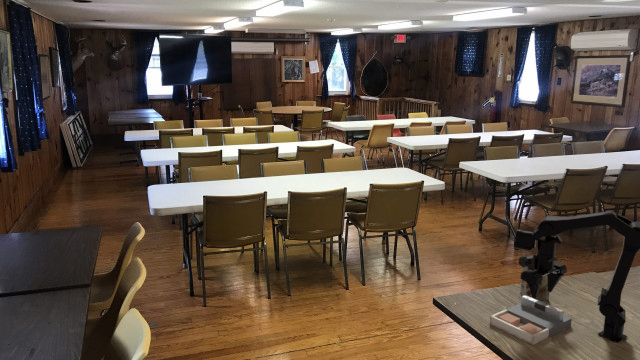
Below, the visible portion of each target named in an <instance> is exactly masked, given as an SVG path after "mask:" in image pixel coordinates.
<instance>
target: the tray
mask: <svg viewBox="0 0 640 360" xmlns="http://www.w3.org/2000/svg"><path fill="white" fill-rule="evenodd" d="M507 311H508V310H506V309H503V310H502V311H501V310H500V311H499V312H497V313H495V314H492V315H489V325H491V326H494V327H496V328H497V329H499V330H502V331H504V332H506V333H508V334H509V335H512V336H514V337H516V338H517V339H520V340H522V341H523V342H525V343H528V344H530V345H532V346H534V345H536V344H538V343H540V342H542V341H544V340H546V339H549V338H550V337H549V329H548V328H546V329H544V330H542V331H540V332H538V333H536V334H534V335H532V334H530V333H528V332H526V331H524V330H522V329H520V327H521V326H523V325H524V324H522V323H520V324H519V325H516V326H513V325H511V324H509V323H507V322H505V321H503V320H501V319H499V317H500V316H502V315H505V314H507Z"/></svg>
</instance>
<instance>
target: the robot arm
mask: <svg viewBox="0 0 640 360" xmlns="http://www.w3.org/2000/svg"><path fill="white" fill-rule="evenodd" d="M602 226H608V227H610V228H612V229H613V230H614V231H616V232H617V233H618V234H619V235H621V236H623V240H622V241H623V242H622V243H623V244H622V249H621V252H620V255H619V257H618V260H617V263H616V265H615V269H614V271H613V274H612V276H611V279H610V283H609V285H608V286H607V288H605V287H601V289H600V294H599V295H598V297H597V306H598V311H599V312H600V314H601V315H602V316H603V317H604V321H603V330H601V331H599V332H598V333H597V335H599V336H600V337H603V338H605V339H607V340H610V341H612V342H614V343H620V342H622V341H624V340H625V339H628V335H627V334H624V328H625V323H626V322H627V321H626V310H625V308H624V307H623V306H622V305H621V302H622V301H621V299H622V292H623V290H624V286H625V284H626V281H627V278H628V276H629V273H630V271H631V268H632V265H633V262H634V259H635V257H636V255H637V253H638V252H639V251H640V222H637V221H632V220H630V219H629V218H627V217H625V216H622V215H619V214H617V213H616V212H615V211H614V210H606V211H602V212H595V213H594V212H593V213H587V214H580V215H574V216H559V215H547V216H544V217H543V218H542V219H541V220H540V222H539V224H538V227H536V228H535V229H534V231H530V230H529V231H528V230H522V229H517V230H516V233H515V238H514V240H513V248H514V249H517V250H522V251H523V250H524V251H527V252H528V251H529V252H531V251H532V250H533V249H536V253H535V254H533V256H527V257H526V256H522V255H521V256H520V257H518V265H519V266H520V267H521V268H523V267H531V269H536V272H535V271H532V270H526V271H523V270H522V271H521V273H520V275H519V276H520V280H521V281H522V280H523V281H525V282H527V283H528V285H529V288H530V292H531V295H532V298H534V299H535V298H536V297H537V294H538V292H539V290H540V288H541V285H542V280H543V276H544V275H547V276H548V292H550V293H552V291H553V290H555V289H554V288H555V287H556V285H558V283H559V282H560V281H561V279H562V277H564V275H565V274H567V271H568V267H567V266H566V264H564V263H560V262H558V261H557V260H558V256H556V245H557V244H558V245H559V244H560V245H562V243H563V238H561V237H560V235H559V234H562V233H564V232H567V231H571V230H579V229H586V228H587V229H588V228H594V227H602ZM536 246H537V247H536Z"/></svg>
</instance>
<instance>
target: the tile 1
mask: <svg viewBox="0 0 640 360" xmlns="http://www.w3.org/2000/svg"><path fill="white" fill-rule="evenodd" d="M499 319H501V320H503V321H505V322H507V323H509V324H511V325H513V326H516V325H519V324H520V318H518V317H516V316H513V315H511V314H509V313H507V314H505V315H502V316H500V317H499Z"/></svg>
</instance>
